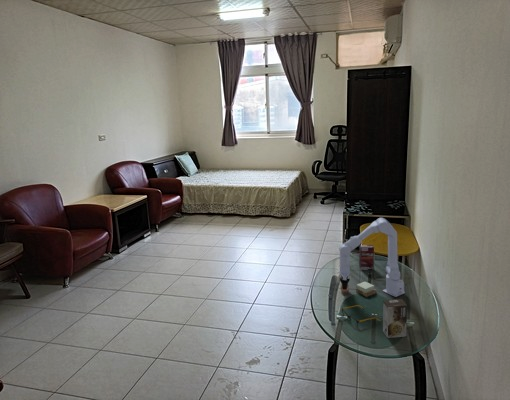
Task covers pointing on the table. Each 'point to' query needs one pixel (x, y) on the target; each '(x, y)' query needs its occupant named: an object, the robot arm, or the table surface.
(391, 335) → the coffee box
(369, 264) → the supplement box
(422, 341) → the table surface
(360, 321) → the eyeglasses
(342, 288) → the salmon pink cylinder
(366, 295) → the walnut base slab
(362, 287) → the sage top slab
